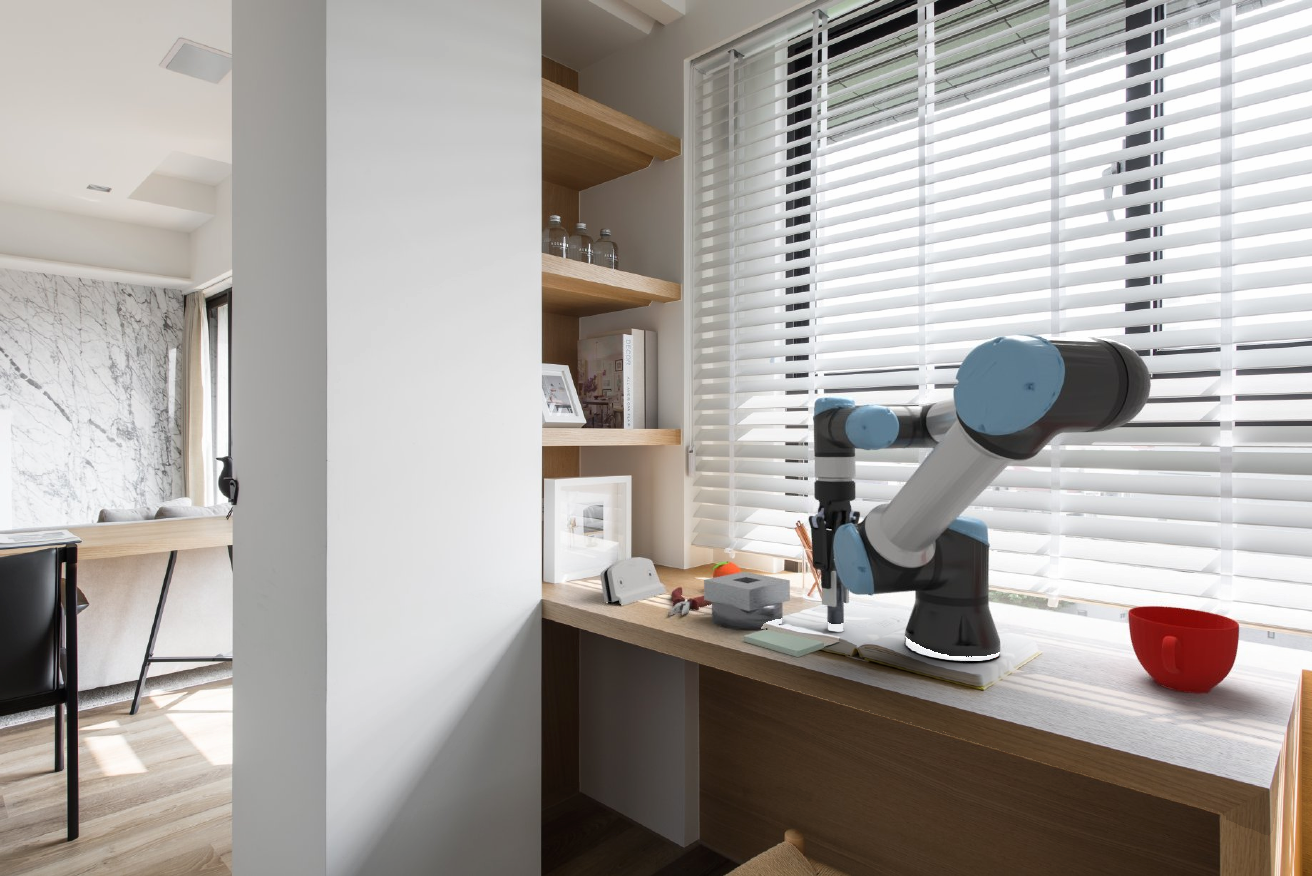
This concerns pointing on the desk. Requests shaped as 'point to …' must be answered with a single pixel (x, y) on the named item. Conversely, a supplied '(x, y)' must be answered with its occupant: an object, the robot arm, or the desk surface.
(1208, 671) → the ceramic cup
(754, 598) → the chuck block
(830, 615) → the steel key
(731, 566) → the clementine
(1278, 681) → the desk surface
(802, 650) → the sage mat
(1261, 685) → the desk surface
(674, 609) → the pliers
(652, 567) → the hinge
